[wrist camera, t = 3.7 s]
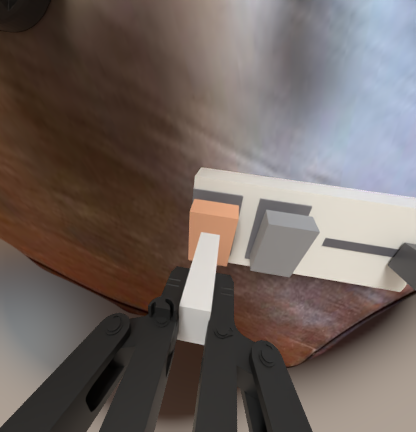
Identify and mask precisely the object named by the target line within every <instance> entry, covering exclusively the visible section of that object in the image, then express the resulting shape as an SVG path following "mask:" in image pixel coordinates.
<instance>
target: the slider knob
mask: <svg viewBox="0 0 416 432" xmlns="http://www.w3.org/2000/svg"><path fill="white" fill-rule="evenodd" d="M388 266H389V267H390V268H391V269H392V270H393V271H394V272H395V273H397V274H398V275H399V276H400V277H401V278H402V279H403V280H404V281H405V282H406V283H407V284H409V285H410V286H411V287H412V288H413V289H414V290H415V291H416V244H411V243H404V244H403V246H402V247H401V248H400V250H399V251H398V252H397V254H396V255H395V256H394V258H393V259H392V260H391V262H390V263H389V264H388Z"/></svg>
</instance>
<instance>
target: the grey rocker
mask: <svg viewBox="0 0 416 432" xmlns="http://www.w3.org/2000/svg"><path fill="white" fill-rule="evenodd" d="M319 233H320V231H319V229H318V227H317V225H316V223H315V220H314V218H313V217H311V216H304V215H298V214H291V213H285V212H278V211H272V210H266V212H265V214H264V217H263V220H262V222H261V225H260V228H259V231H258V233H257V236H256V239H255V242H254V244H253V247H252V250H251V253H250V255H249V258H250V271H255V272H261V273H267V274H273V275H279V276H285V277H290V276H291V275H292V273H293V272H294V270H295V269H296V267H297V266H298V264H299V263H300V261H301V260H302V258H303V257H304V255H305V254H306V252H307V251H308V249H309V248H310V246H311V245H312V243H313V242H314V240H315V239H316V238H317V236H318V235H319Z"/></svg>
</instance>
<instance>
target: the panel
mask: <svg viewBox="0 0 416 432" xmlns="http://www.w3.org/2000/svg"><path fill="white" fill-rule="evenodd" d="M194 199H200V200H206V201H213V202H219V203H226V204H232V205H239V220H238V224H237V228H236V232H235V236H234V240H233V243H232V247H231V251H230V255H229V259H228V263H234V264H240V265H246V266H250V258H249V255H250V253H251V250H252V247H253V244H254V242H255V239H256V236H257V233H258V231H259V228H260V225H261V222H262V220H263V217H264V214H265V212H266V210H272V211H278V212H285V213H291V214H298V215H304V216H311V217H313V218H314V220H315V223H316V225H317V227H318V229H319V231H320V233H319V235H318V236H317V238H316V239H315V240H314V242H313V243H312V245H311V246H310V248H309V249H308V251H307V252H306V254H305V255H304V257H303V258H302V260H301V261H300V263H299V264H298V266H297V267H296V269H295V270H294V272H293V274H298V275H304V276H310V277H316V278H322V279H328V280H333V281H339V282H345V283H351V284H357V285H363V286H369V287H374V288H380V289H386V290H392V291H398V292H401V291H402V289H403V288H404V287H405V286H406V285H407V283H406V282H405V281H404V280H403V279H402V278H401V277H400V276H399V275H398V274H397V273H395V272H394V271H393V270H392V269H391V268H390V267H389V266H388V264H389V263H390V262H391V260H392V259H393V258H394V256H395V255H396V254H397V252H398V251H399V250H400V248H401V247H402V246H403V244H404V243H411V244H416V198H414V197H407V196H400V195H393V194H386V193H379V192H372V191H365V190H358V189H351V188H344V187H337V186H330V185H323V184H316V183H309V182H302V181H295V180H287V179H280V178H273V177H266V176H259V175H252V174H245V173H238V172H231V171H224V170H217V169H210V168H203V167H201V168H200V170H199V171H198V173H197V174H196V175H195V181H194V189H193V201H194ZM193 201H192V204H193ZM188 256H189V255H188Z"/></svg>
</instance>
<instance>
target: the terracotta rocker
mask: <svg viewBox="0 0 416 432" xmlns="http://www.w3.org/2000/svg"><path fill="white" fill-rule="evenodd" d="M238 220H239V205H232V204H226V203H219V202H213V201H206V200H200V199H194V201H193V204H192V207H191V209H190V219H189V256H188V260H192V261H193V258H194V254H195V251H196V248H197V244H198V241H199V238H200V234H201V232H204V233H210V234H216V235H220V240H219V248H218V257H217V265H221V266H226V267H227V263H228V259H229V255H230V251H231V247H232V243H233V240H234V236H235V232H236V228H237V224H238Z"/></svg>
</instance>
